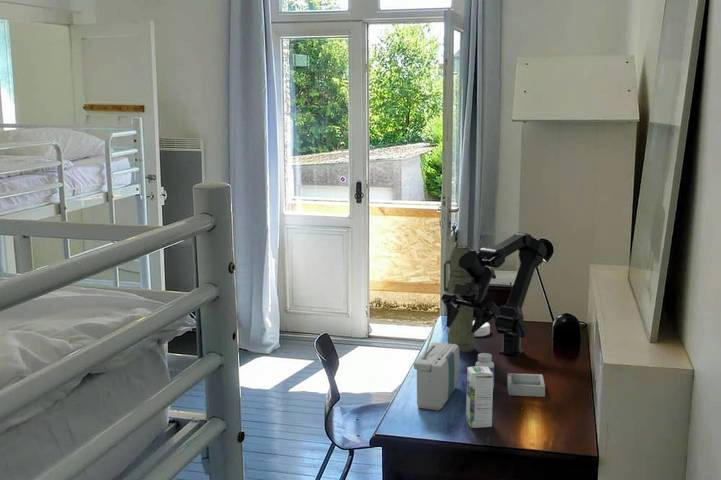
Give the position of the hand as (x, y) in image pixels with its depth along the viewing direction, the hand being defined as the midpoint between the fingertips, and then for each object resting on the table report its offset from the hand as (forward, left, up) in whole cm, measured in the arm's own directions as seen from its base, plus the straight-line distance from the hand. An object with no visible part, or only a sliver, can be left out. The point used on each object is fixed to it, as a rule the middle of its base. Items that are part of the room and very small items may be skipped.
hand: (459, 329), depth 234 cm
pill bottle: (+6, +11, -14) cm, 19 cm away
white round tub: (-43, -15, -15) cm, 48 cm away
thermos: (-23, -11, -14) cm, 29 cm away
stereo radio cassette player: (+21, +3, -14) cm, 25 cm away
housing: (+2, +22, -14) cm, 26 cm away
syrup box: (+31, +21, -14) cm, 40 cm away
